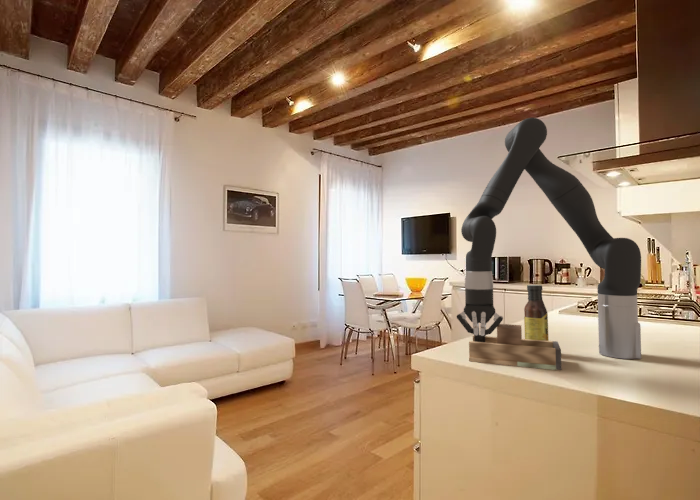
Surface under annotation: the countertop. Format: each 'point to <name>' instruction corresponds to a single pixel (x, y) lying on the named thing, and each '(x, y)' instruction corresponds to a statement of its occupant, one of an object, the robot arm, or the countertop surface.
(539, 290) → the sauce bottle
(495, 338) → the wooden tray
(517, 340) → the block
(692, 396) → the countertop surface
